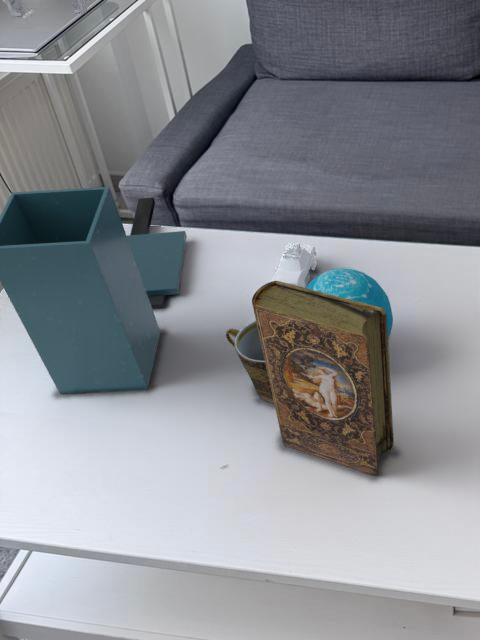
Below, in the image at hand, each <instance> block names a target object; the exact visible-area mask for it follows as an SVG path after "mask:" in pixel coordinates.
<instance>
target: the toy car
mask: <svg viewBox="0 0 480 640" xmlns="http://www.w3.org/2000/svg"><path fill="white" fill-rule="evenodd" d="M317 255H318V252H317V251H316V247H315V246H314V245H308V244H301V243H299V242H293V241H291V242H290V243H287V245H286V246H285V248H284V251H283V253H282V255H281V257H280V260H279V263H278V266H274V269H275V270H276V271H275V273H274V275H273V277H272V278H271V281H270V282H272V281H280V282H284V283H288V284H292V285H295V286H299V287H303V288H306V286H307V285H308V284H309V281H310V278H311V277H310V272H309V271H310V270H311V271H315V270H316V267H317V265H318V262H317V259H316V258H315V257H317Z"/></svg>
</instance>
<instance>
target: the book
mask: <svg viewBox="0 0 480 640" xmlns="http://www.w3.org/2000/svg"><path fill="white" fill-rule="evenodd" d="M271 281H272V280H271ZM271 281H269V282H266V283H265V284H264V285H262V286H261V287H259V288H258V289H257V290H256V291H255V292H254V293H253V296H252V297H251V304H252V309H253V313H254V318H255V321H256V323H257V327H258V332H259V337H260V341H261V346H262V350H263V355H264V359H265V364H266V369H267V373H268V378H269V382H270V387H271V391H272V396H273V400H274V404H273V405H274V409H275V413H276V418H277V423H278V427H279V431H280V437H281V441H282V445H283V447H284V448H287V449H289V450H293V451H296V452H298V453H302V454H305V455H307V456H310V457H314V458H316V459H320V460H323V461H325V462H329V463H332V464H335V465H337V466H341V467H344V468H347V469H350V470H353V471H357V472H360V473H363V474H367V475H369V476H370V475H371V476H376V475H377V474H378V472H379V458H380V457H381V456H382V455H383V454H385V453H387V452H389V451H391V450H392V449H393V448H394V443H395V442H394V424H393V423H394V421H393V404H392V400H393V399H392V385H391V365H390V363H391V362H390V345H389V340H388V326H387V314H386V311H385V310H384V309H383V308H381V307H377V306H373V305H369V304H365V303H361V302H357V301H353V300H350V299H346V298H342V297H338V296H334V295H330V294H326V293H322V292H319V291H315V290H311V289H307V288H306V287H305V288H303V287H299V286H295V285H292V284H288V283H284V282H280V281H272V282H271Z"/></svg>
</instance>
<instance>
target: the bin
mask: <svg viewBox="0 0 480 640" xmlns="http://www.w3.org/2000/svg"><path fill="white" fill-rule="evenodd" d="M122 221H123V220H122V219H121V216H120V214H119V210H118V208H117V204H116V202H115V198H114V196H113V193H112V189H111V187H110V186H97V187H81V188H80V187H79V188H64V189H48V190H45V189H44V190H31V191H29V190H28V191H14V192H13V191H12V192H10V195H9V197H8V199H7V201H6V203H5V205H4V207H3V209H2V211H1V213H0V284H1V286H2V287H3V290H4V291H5V293H6V295H7V297H8V299H9V301H10V302H11V305H12V307H13V308H14V310H15V312H16V314H17V316H18V318H19V319H20V321H21V324H22V325H23V327H24V329H25V331H26V333H27V334H28V337H29V338H30V341H31V342H32V344H33V346H34V348H35V350H36V352H37V353H38V356H39V358H40V360H41V362H42V364H43V365H44V367H45V369H46V371H47V372H48V375H49V376H50V378H51V380H52V382H53V384H54V386H55V388H56V390H57V392H58V393H59V395H73V394H90V393H92V394H93V393H109V392H110V393H111V392H125V391H144V390H148V389H149V385H150V381H151V377H152V372H153V368H154V363H155V359H156V354H157V350H158V346H159V341H160V336H161V329H160V327H159V325H158V324H159V323H158V321H157V318H156V316H155V312H154V310H153V309H154V308H152V307H151V304H150V301H149V298H148V295H147V292H146V290H145V287H144V284H143V281H142V278H141V275H140V272H139V270H138V267H137V264H136V261H135V258H134V255H133V253H132V250H131V247H130V244H129V241H128V238H127V233H126V230H125V227H124V224H123V222H122Z"/></svg>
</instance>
